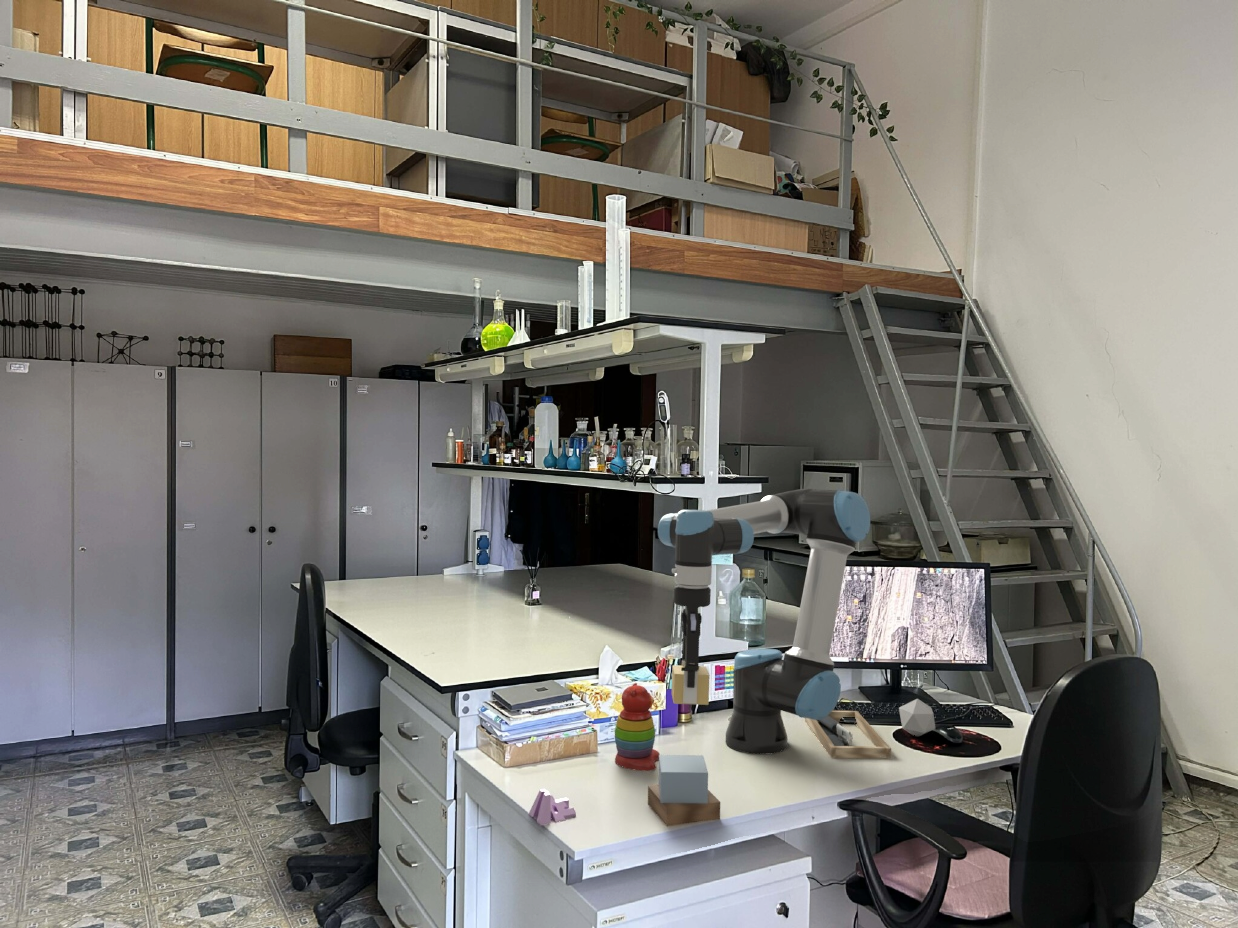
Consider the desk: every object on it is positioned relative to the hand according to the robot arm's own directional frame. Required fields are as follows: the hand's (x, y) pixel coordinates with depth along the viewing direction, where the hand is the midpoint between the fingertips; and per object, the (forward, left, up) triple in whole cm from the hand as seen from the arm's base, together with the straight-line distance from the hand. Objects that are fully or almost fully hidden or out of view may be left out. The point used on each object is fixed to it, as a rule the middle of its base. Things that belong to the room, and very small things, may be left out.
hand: (688, 697), depth 174 cm
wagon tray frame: (-43, -39, -22) cm, 62 cm away
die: (-62, -42, -22) cm, 78 cm away
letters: (+27, +9, -22) cm, 36 cm away
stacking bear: (+10, -22, -22) cm, 33 cm away
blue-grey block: (+2, +6, -17) cm, 19 cm away
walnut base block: (+1, +6, -22) cm, 23 cm away
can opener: (-39, -39, -22) cm, 60 cm away
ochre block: (0, 0, 0) cm, 1 cm away
